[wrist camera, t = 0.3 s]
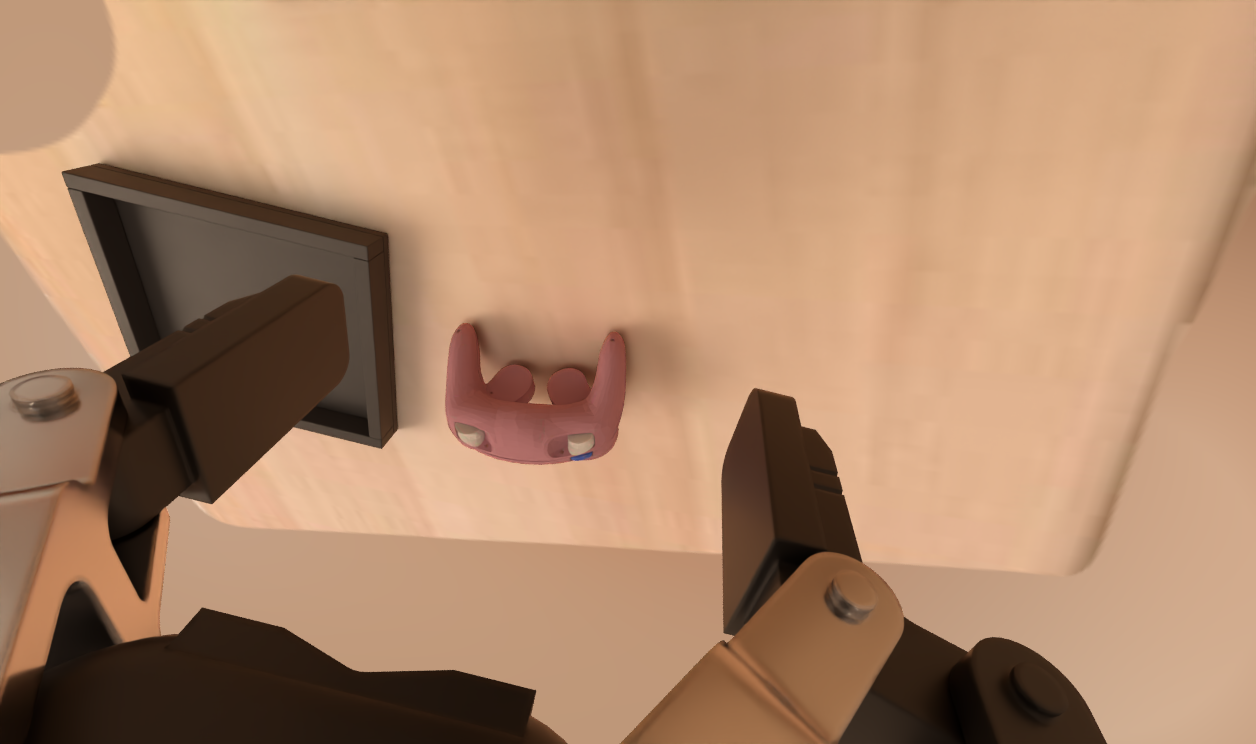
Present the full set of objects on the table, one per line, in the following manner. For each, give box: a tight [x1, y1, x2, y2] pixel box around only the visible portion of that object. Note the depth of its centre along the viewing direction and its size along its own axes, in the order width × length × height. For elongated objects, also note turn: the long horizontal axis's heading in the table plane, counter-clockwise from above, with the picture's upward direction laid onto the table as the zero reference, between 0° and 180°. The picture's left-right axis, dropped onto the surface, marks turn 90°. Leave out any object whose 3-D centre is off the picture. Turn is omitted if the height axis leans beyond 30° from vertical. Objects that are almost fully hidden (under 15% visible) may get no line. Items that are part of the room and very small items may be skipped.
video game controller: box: [445, 323, 626, 465], centre depth 29 cm, size 10×5×7 cm, turn 90°
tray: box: [62, 163, 397, 449], centre depth 31 cm, size 14×16×2 cm
